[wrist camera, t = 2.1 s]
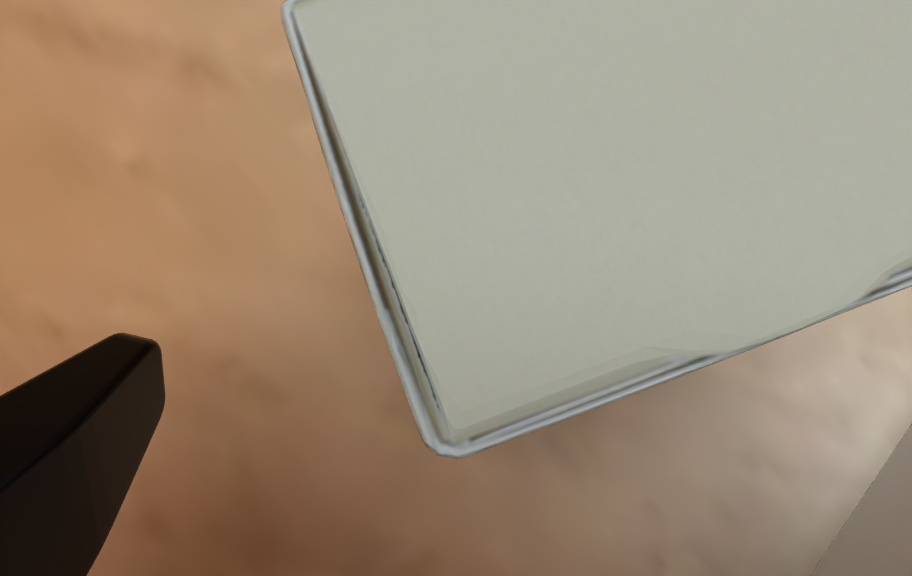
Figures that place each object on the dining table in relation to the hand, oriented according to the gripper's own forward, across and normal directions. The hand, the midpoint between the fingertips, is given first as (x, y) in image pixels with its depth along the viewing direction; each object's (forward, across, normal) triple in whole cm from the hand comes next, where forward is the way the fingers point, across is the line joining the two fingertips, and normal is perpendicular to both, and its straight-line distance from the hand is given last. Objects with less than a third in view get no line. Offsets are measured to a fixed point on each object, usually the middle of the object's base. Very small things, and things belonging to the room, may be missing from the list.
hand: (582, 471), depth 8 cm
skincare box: (+10, 0, +5) cm, 11 cm away
